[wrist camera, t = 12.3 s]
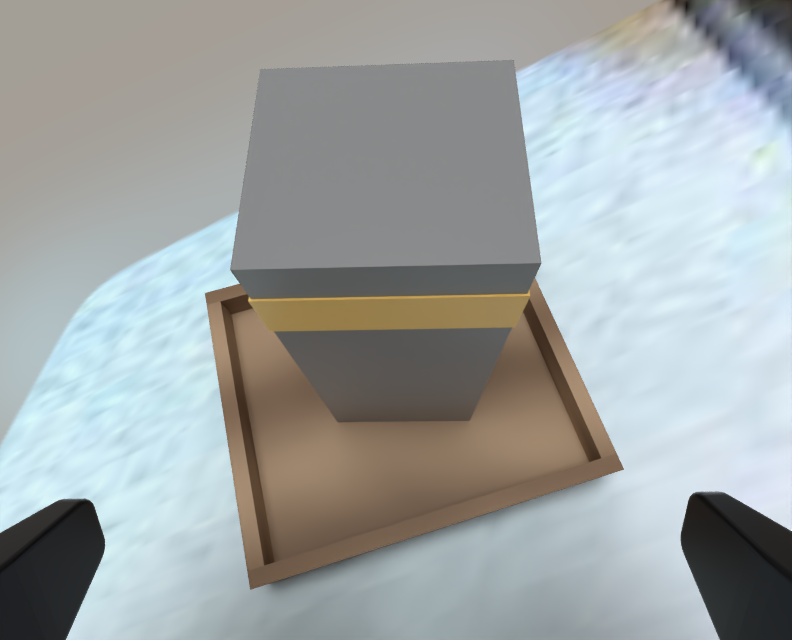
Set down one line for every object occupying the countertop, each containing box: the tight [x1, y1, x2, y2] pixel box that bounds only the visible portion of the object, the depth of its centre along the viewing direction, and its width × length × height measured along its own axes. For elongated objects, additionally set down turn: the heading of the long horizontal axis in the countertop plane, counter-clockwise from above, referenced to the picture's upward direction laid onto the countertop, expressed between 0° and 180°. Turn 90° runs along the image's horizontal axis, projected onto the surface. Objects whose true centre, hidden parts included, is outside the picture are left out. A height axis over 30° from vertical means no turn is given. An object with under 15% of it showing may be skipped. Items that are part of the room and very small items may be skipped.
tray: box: [205, 278, 624, 590], centre depth 21 cm, size 12×14×2 cm
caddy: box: [230, 60, 541, 422], centre depth 16 cm, size 5×6×13 cm
